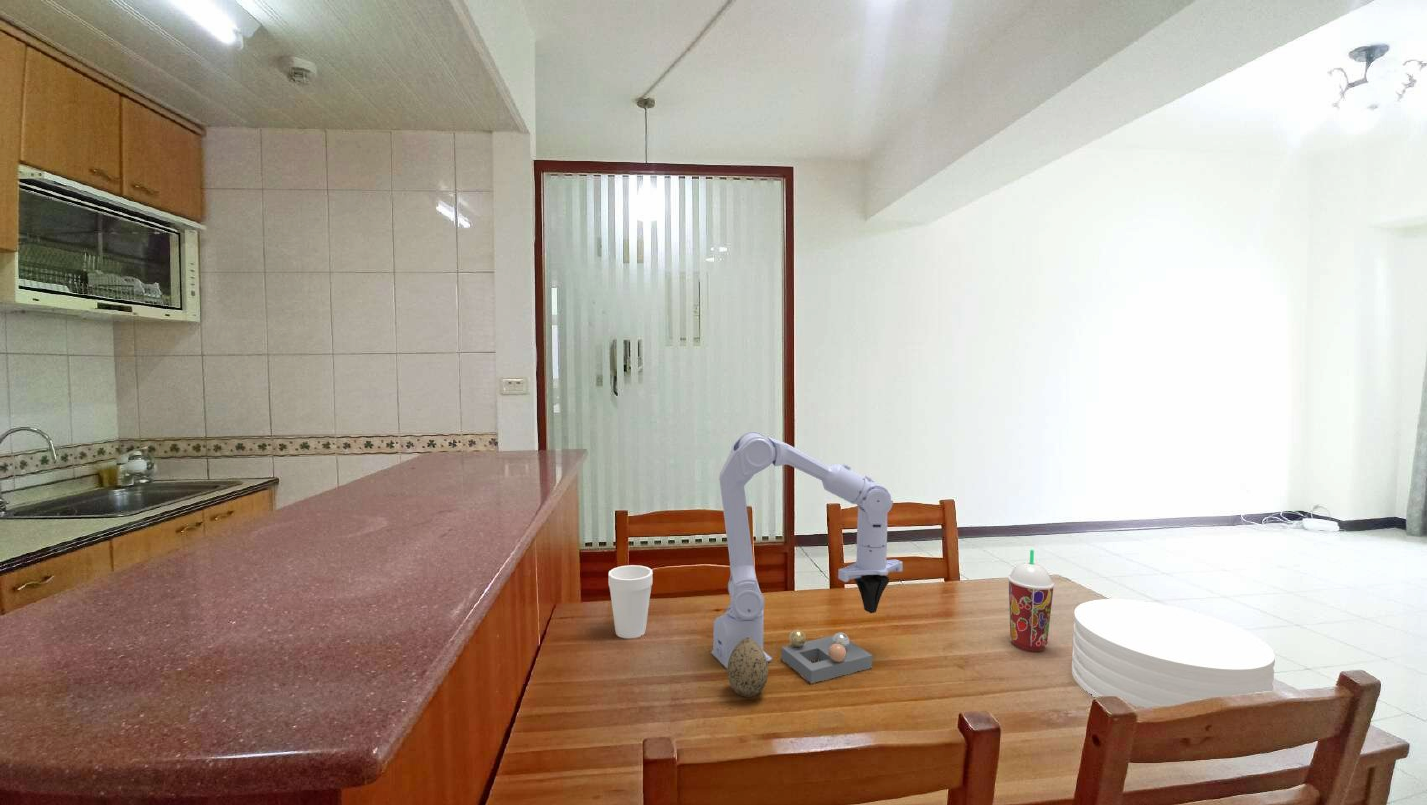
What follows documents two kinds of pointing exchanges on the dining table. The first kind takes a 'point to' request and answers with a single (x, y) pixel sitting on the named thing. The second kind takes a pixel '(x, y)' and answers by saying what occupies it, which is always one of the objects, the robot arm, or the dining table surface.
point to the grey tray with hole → (825, 660)
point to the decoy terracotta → (837, 652)
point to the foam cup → (630, 599)
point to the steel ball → (841, 639)
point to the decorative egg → (747, 668)
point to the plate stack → (1164, 654)
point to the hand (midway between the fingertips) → (870, 611)
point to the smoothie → (1030, 605)
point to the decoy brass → (797, 638)
